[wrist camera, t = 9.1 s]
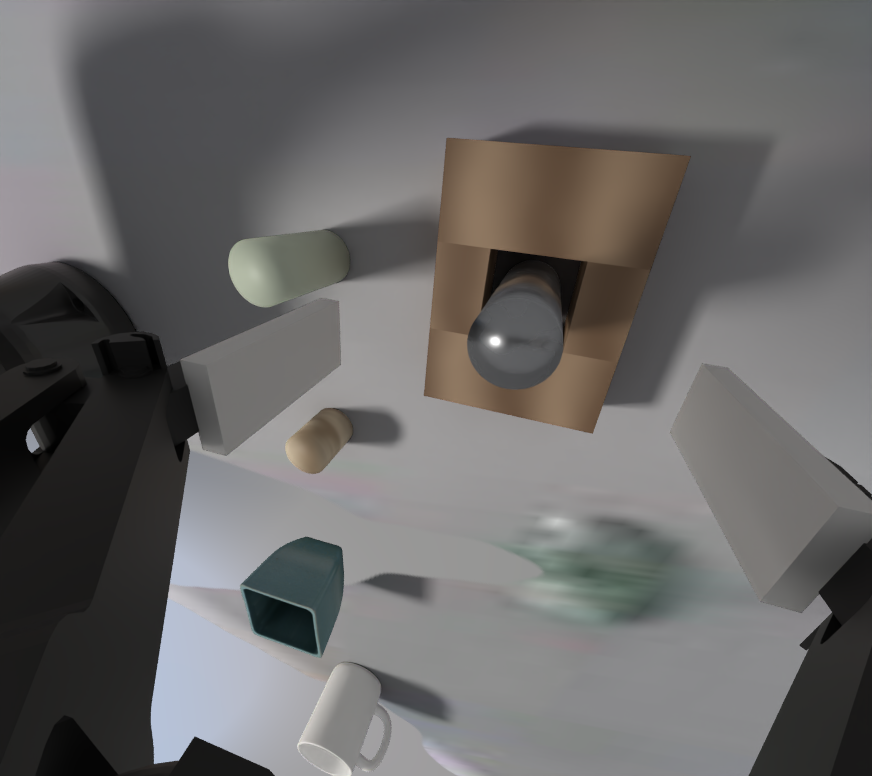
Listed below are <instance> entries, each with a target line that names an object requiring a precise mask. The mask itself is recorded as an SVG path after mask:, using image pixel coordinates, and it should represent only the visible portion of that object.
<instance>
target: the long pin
mask: <svg viewBox="0 0 872 776" xmlns="http://www.w3.org/2000/svg"><path fill="white" fill-rule="evenodd" d="M467 350H468V355H469V358H470V361H471V363H472V365H473V367H474V368H475V370H476V371H477V372H478V373H479V375H480V376H482V377H483V378H484V379H485V380H487V381H488V382H490V383H491V384H493V385H495V386H498V387H501V388H505V389H511V390H519V389H526V388H530V387H533V386H536V385H538V384H540V383H542V382H543V381H545V380H546V379H547V378H548V377H550V376H551V374H552V373H553V372H554V371H555V370H556V368H557V366H558V365H559V363H560V360H561V357H562V353H563V327H562V306H561V286H560V280H559V277H558V275H557V273H556V271H555V270H554V269H553V268H552V267H551V266H550V265H548V264H547V263H545V262H542V261H538V260H527V261H523V262H520V263H518V264H517V265H515V266H514V267H513V268H511V269H510V271H509V272H508V273H507V274H506V276H505V277H504V279H503V280H502V282H501V283H500V285H499V286H498V287H497V289H496V290H495V292H494V293H493V295H492V296H491V297H490V299H489V300H488V302H487V303H486V305H485V306H484V308H483V309H482V310H481V312H480V313H479V315H478V316H477V318H476V319H475V321H474V322H473V324H472V326H471V328H470V331H469V334H468V338H467Z"/></svg>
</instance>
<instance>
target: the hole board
mask: <svg viewBox="0 0 872 776" xmlns="http://www.w3.org/2000/svg"><path fill="white" fill-rule="evenodd" d="M690 157H691V156H684V155H671V154H657V153H644V152H631V151H617V150H604V149H590V148H577V147H563V146H550V145H536V144H523V143H509V142H496V141H483V140H469V139H456V138H447V140H446V151H445V163H444V174H443V185H442V197H441V208H440V219H439V231H438V242H437V254H436V265H435V276H434V288H433V299H432V310H431V322H430V333H429V344H428V356H427V367H426V378H425V390H424V396H428V397H433V398H437V399H441V400H446V401H450V402H455V403H459V404H464V405H468V406H472V407H477V408H481V409H486V410H490V411H495V412H499V413H504V414H508V415H512V416H517V417H521V418H526V419H530V420H535V421H539V422H543V423H548V424H552V425H557V426H561V427H566V428H570V429H574V430H579V431H583V432H588V433H592V434H593V431H594V428H595V425H596V423H597V420H598V417H599V414H600V411H601V409H602V406H603V403H604V400H605V397H606V394H607V392H608V389H609V386H610V383H611V380H612V377H613V375H614V372H615V369H616V366H617V363H618V361H619V358H620V355H621V352H622V349H623V346H624V344H625V341H626V338H627V335H628V332H629V329H630V327H631V324H632V321H633V318H634V315H635V313H636V310H637V307H638V304H639V301H640V298H641V296H642V293H643V290H644V287H645V284H646V282H647V279H648V276H649V273H650V270H651V267H652V265H653V262H654V259H655V256H656V253H657V250H658V248H659V245H660V242H661V239H662V236H663V234H664V231H665V228H666V225H667V222H668V219H669V217H670V214H671V211H672V208H673V205H674V202H675V200H676V197H677V194H678V191H679V188H680V186H681V183H682V180H683V177H684V174H685V171H686V169H687V166H688V163H689V160H690ZM498 250H505V251H512V252H520V253H527V254H535V255H542V256H549V257H557V258H564V259H572V260H579V261H581V264H580V268H579V271H578V275H577V279H576V283H575V287H574V290H573V294H572V298H571V302H570V305H569V309H568V313H567V317H566V320H565V324H564V328H563V353H562V357H561V360H560V363H559V365H558V366H557V368H556V370H555V371H554V372H553V373H552V374H551V376H550V377H548V378H547V379H546V380H545V381H543V382H542V383H540V384H538V385H536V386H533V387H530V388H526V389H519V390H511V389H505V388H501V387H498V386H495V385H493V384H491V383H490V382H488V381H487V380H485V379H484V378H483V377H482V376H480V375H479V373H478V372H477V371H476V370H475V368H474V367H473V365H472V363H471V361H470V358H469V355H468V350H467V338H468V334H469V331H470V328H471V326H472V324H473V322H474V321H475V319H476V318H477V316H478V315H479V313H480V312H481V310H482V309H483V308H484V306H485V305H486V303H487V302H488V300H489V299H490V297H491V291H492V285H493V279H494V273H495V267H496V261H497V254H498Z"/></svg>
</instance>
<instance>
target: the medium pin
mask: <svg viewBox="0 0 872 776" xmlns="http://www.w3.org/2000/svg"><path fill="white" fill-rule="evenodd" d="M228 267H229V273H230V276H231V279H232V282H233V284H234V286H235V287H236V289H237V290H238V292H239V293H240V294H241V295H242V296H243V297H244V298H245V299H246V300H247V301H249V302H250V303H252V304H254V305H256V306H259V307H272V306H274V305H277V304H280V303H282V302H285V301H288V300H291V299H293V298H296V297H299V296H302V295H304V294H307V293H310V292H312V291H315V290H318V289H321V288H323V287H326V286H329V285H332V284H334V283H337V282H339V281H341V280H342V279H344V278H345V276H346V275H347V273H348V271H349V267H350V256H349V252H348V249H347V247H346V245H345V243H344V242H343V240H342V239H341V238H340V237H339V236H338V235H336V234H335V233H333V232H331V231H327V230H318V231H310V232H302V233H293V234H285V235H276V236H268V237H260V238H251V239H244V240H241V241H239V242H237V243H236V244H235V245H234V246H233V247H232V249H231V251H230V254H229V259H228Z"/></svg>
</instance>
